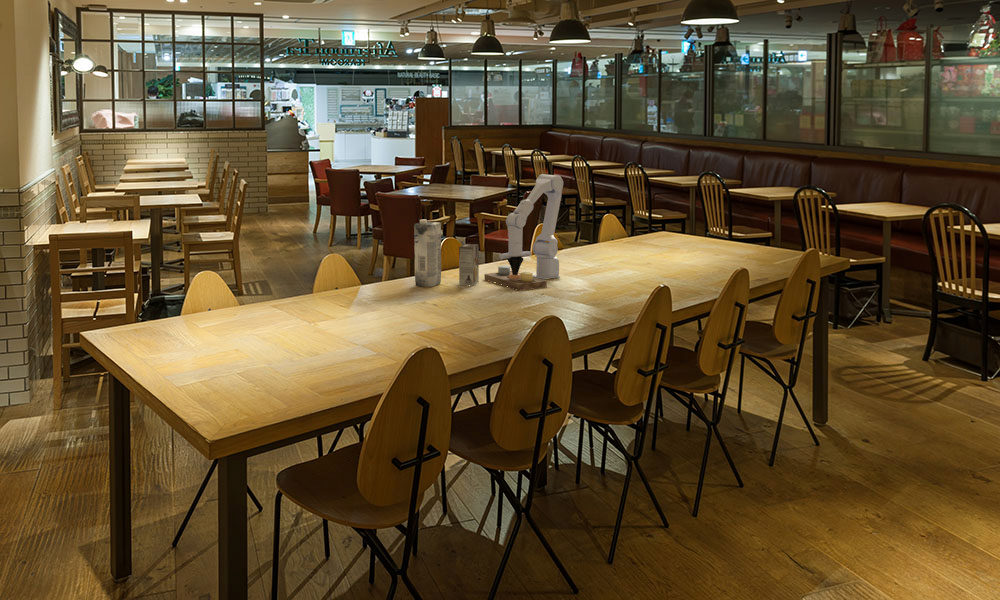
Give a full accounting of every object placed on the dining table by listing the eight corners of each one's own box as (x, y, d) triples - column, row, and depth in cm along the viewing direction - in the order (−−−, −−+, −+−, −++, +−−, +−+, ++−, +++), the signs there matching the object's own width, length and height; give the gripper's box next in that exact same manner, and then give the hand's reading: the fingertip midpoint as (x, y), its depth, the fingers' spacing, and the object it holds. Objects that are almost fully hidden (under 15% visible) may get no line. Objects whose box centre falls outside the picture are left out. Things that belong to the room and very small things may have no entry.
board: (511, 276, 382) (512, 270, 382) (546, 286, 361) (546, 280, 360) (484, 279, 375) (484, 273, 374) (518, 290, 354) (518, 284, 353)
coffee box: (464, 281, 371) (464, 243, 368) (478, 281, 370) (479, 244, 367) (458, 285, 363) (458, 246, 359) (474, 286, 361) (474, 247, 358)
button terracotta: (516, 280, 371) (516, 273, 370) (523, 282, 367) (523, 275, 366) (506, 281, 369) (506, 274, 368) (513, 283, 364) (513, 276, 364)
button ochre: (528, 279, 364) (528, 272, 363) (535, 281, 360) (535, 273, 359) (518, 281, 361) (518, 273, 360) (524, 283, 357) (525, 275, 356)
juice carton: (443, 283, 366) (443, 218, 360) (431, 288, 356) (430, 221, 351) (425, 281, 369) (424, 217, 364) (412, 286, 360) (411, 220, 354)
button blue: (505, 273, 378) (505, 265, 377) (512, 275, 374) (512, 267, 373) (495, 274, 375) (496, 266, 374) (502, 276, 371) (502, 268, 370)
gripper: (524, 239, 371) (524, 271, 374) (495, 242, 364) (495, 274, 367) (534, 242, 366) (533, 274, 368) (504, 244, 358) (504, 277, 361)
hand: (515, 274), depth 367 cm, fingers closed, pressing on button terracotta
